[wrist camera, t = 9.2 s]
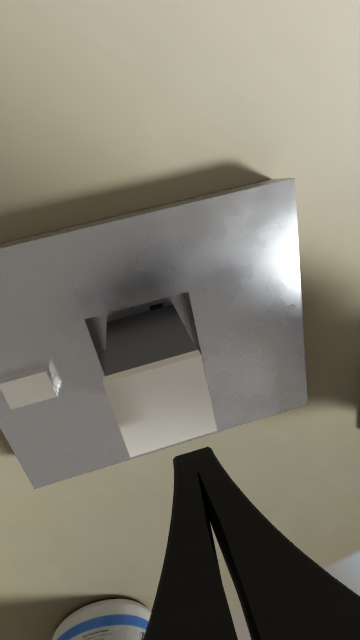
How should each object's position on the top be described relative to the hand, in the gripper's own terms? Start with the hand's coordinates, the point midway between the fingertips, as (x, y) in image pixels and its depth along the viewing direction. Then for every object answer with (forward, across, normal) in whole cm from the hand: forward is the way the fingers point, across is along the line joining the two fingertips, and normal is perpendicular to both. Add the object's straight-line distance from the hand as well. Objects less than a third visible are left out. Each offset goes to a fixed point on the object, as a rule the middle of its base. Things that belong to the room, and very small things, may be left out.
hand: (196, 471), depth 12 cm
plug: (+9, +1, -1) cm, 9 cm away
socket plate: (+10, +1, -1) cm, 10 cm away
